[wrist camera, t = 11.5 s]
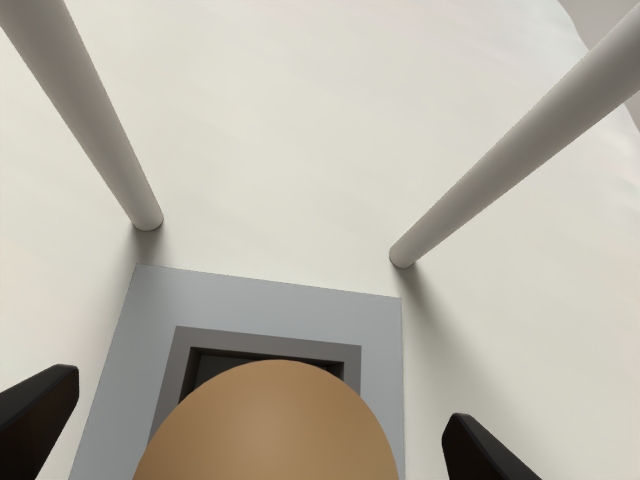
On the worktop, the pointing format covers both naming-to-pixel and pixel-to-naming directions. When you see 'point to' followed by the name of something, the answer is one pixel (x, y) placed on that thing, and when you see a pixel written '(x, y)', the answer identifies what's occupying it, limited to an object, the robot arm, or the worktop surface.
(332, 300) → the awning socket
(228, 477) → the tan domed cylinder
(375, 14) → the worktop surface
